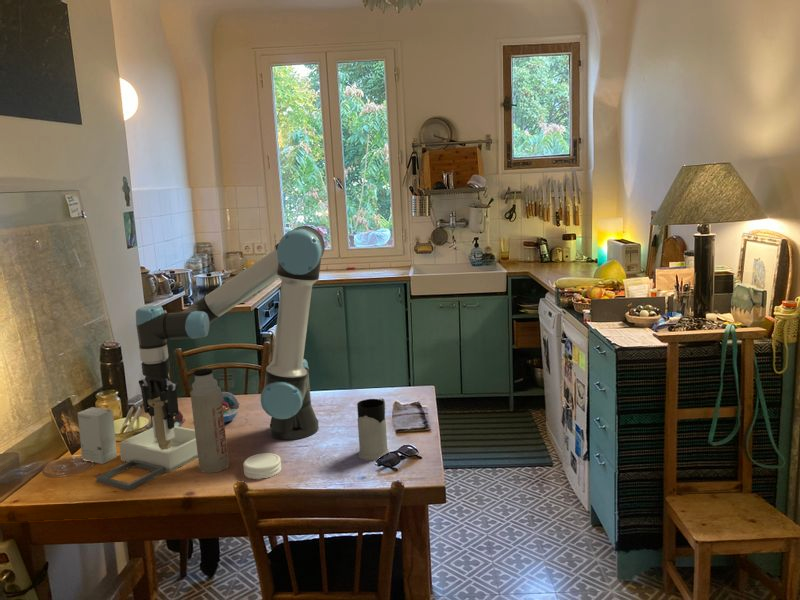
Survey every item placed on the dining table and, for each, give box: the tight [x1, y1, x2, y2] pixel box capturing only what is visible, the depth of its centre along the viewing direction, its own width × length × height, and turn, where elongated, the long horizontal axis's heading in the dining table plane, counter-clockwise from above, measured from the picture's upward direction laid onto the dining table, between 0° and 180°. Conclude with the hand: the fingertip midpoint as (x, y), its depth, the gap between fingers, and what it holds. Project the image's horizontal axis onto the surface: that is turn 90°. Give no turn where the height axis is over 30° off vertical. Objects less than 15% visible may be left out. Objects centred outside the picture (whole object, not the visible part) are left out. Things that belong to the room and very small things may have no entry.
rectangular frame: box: [95, 460, 166, 492], centre depth 186 cm, size 13×12×2 cm
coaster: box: [243, 452, 282, 480], centre depth 185 cm, size 10×10×4 cm
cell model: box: [221, 391, 241, 424], centre depth 224 cm, size 10×12×10 cm
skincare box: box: [77, 406, 118, 465], centre depth 198 cm, size 8×6×15 cm
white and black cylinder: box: [356, 397, 390, 461], centre depth 194 cm, size 9×14×15 cm, turn 160°
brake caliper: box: [145, 409, 186, 430], centre depth 218 cm, size 11×11×12 cm
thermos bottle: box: [189, 367, 230, 474], centre depth 187 cm, size 8×8×28 cm
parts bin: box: [118, 426, 198, 473], centre depth 199 cm, size 20×16×6 cm
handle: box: [148, 397, 171, 450], centre depth 198 cm, size 5×6×15 cm
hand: (164, 437), depth 199 cm, fingers closed on handle, 4 cm apart
